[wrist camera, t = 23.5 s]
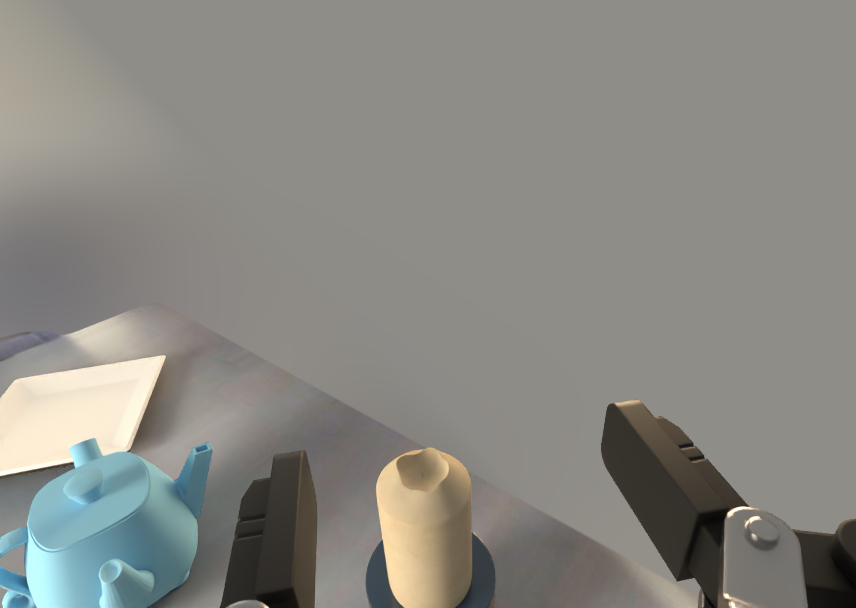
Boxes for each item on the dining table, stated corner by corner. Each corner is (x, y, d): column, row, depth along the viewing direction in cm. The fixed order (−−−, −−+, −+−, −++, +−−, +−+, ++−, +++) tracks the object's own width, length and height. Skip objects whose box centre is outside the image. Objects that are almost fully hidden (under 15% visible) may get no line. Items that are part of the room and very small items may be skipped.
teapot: (254, 513, 48) (225, 422, 43) (165, 674, 36) (109, 577, 31) (113, 497, 51) (69, 410, 45) (-12, 642, 39) (-93, 547, 33)
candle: (373, 597, 32) (354, 488, 27) (411, 527, 37) (401, 422, 32) (453, 632, 30) (448, 521, 25) (483, 554, 34) (484, 446, 30)
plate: (135, 463, 55) (128, 449, 54) (-64, 502, 51) (-74, 488, 50) (170, 365, 71) (165, 353, 70) (21, 390, 67) (14, 378, 66)
